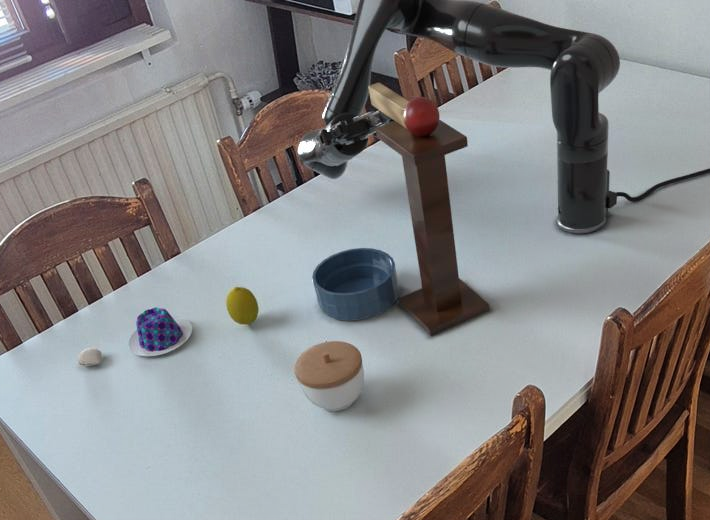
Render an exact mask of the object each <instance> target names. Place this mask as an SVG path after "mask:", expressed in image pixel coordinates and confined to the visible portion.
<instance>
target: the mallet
mask: <svg viewBox="0 0 710 520" xmlns="http://www.w3.org/2000/svg"><path fill="white" fill-rule="evenodd" d="M368 88H369V97H370V98H369V99H370V105H371V106H372V107H374V108H375V109H377V111H379V110H380V111H381V112H383V113H384V114H386V115H387V116H389V117H390V118H392V119H393V120H394V121H396V122H397V123H399V124H400V125H402V126H403V127H405V128H406V129H408V131H409V132H410V133H412V134H413V135H416V136H420V137H423V136H427V135H430V134H431V133H433V132H434V131H435V129H436V128H437V126H438V123H439V119H440V111H439V108H438V106H437V104H436V103H435V102H434V101H433V100H432V99H431V98H429V97H426V96H417V97H414V98H412V99H411V100H409V101H408V99H405V97H402V96H401V95H399V94H398V93H397V92H395V91H393V90H392V89H390V88H388V87H387V86H385V85H384V84H382V83H381V82H375V83H374V84H370V86H368Z"/></svg>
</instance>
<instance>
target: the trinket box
mask: <svg viewBox="0 0 710 520" xmlns="http://www.w3.org/2000/svg"><path fill="white" fill-rule="evenodd" d="M293 370H294V375H295V378H296V379H297V382H298V384H299V387H300V389H301V391H302V393H303V394H304V396H305V397H306V399H307V400H309V402H310V403H311V404H313V405H314V406H316V407H317V408H320V409H323V410H325V411H328V412H339V411H344V410H345V409H348V408H350V407H351V406H352V405H353V404H354V403H355V402H356V400H357V399H358V398H359V396H360V394H361V393H362V390H363V388H364V382H365V370H364V365H363V357H362V353H361V350H359V349H358V348H357V346H355V345H354V344H351V343H349V342H346V341H339V340H332V341H324V342H320V343H317V344H315V345H312V346H310V347H309V348H306V350H304V351H303V352H301V354H299V356H298V357H297V358H296V360H295V362H294V366H293Z"/></svg>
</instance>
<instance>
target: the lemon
mask: <svg viewBox="0 0 710 520" xmlns="http://www.w3.org/2000/svg"><path fill="white" fill-rule="evenodd" d="M225 305H226V310H227V312H228V315H229V316H230V318H231V320H233V321H234V322H235V323H236V324H239V325H243V326H244V325H246V326H249V325H251V324H253V322H255V321H256V319H257V318H258V315H259V303H258V301H257V298H256V297H255V295H254V293H253V292H252V291H251V290H250V289H248V288H247V287H243V286H235V287H234V288H233V287H232V289H231V290H229V292H228V293H227V294H226V299H225Z"/></svg>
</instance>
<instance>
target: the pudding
mask: <svg viewBox="0 0 710 520" xmlns="http://www.w3.org/2000/svg"><path fill="white" fill-rule="evenodd" d="M135 322H136V323H135V326H136V329H135V330H134V332H132V334H131V335H130V337H129V338H128V342H127V346H128V349H129V351H130V352H132V353H133V354H135V355H137V356H141V357H156V356H160V355H164V354H168V353H170V352H173V351H174V350H176V349H178V348H179V347H181V346H182V345H183V344H185V343H186V341H188V340H189V338H190V337H191V335H192V332H193V325H192V323H191V322H190V321H189V320H188V319H186V318H184V317H181V316H175V315H174V316H172V315H171V314H170V313H169V311H168V310H167V309H166V308H162V307H161V308H160V307H152V308H148V309H145V310H143V312H142V313H140V314H139V315H138V316H137V317H136V321H135Z"/></svg>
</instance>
